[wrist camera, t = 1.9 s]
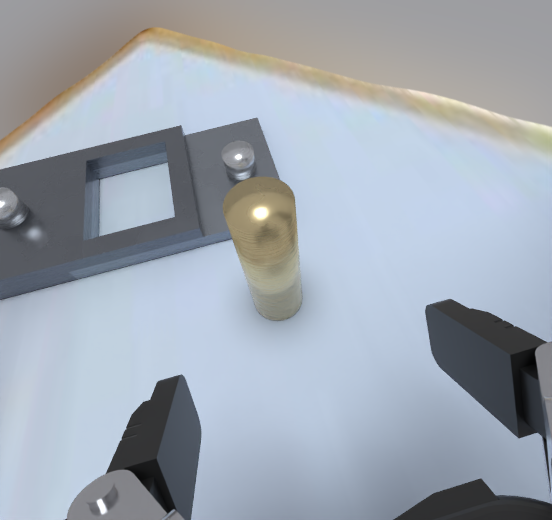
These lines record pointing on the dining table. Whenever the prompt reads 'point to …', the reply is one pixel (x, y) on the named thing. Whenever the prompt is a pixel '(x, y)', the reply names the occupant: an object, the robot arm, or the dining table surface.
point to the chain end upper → (83, 212)
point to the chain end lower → (198, 183)
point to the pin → (266, 243)
